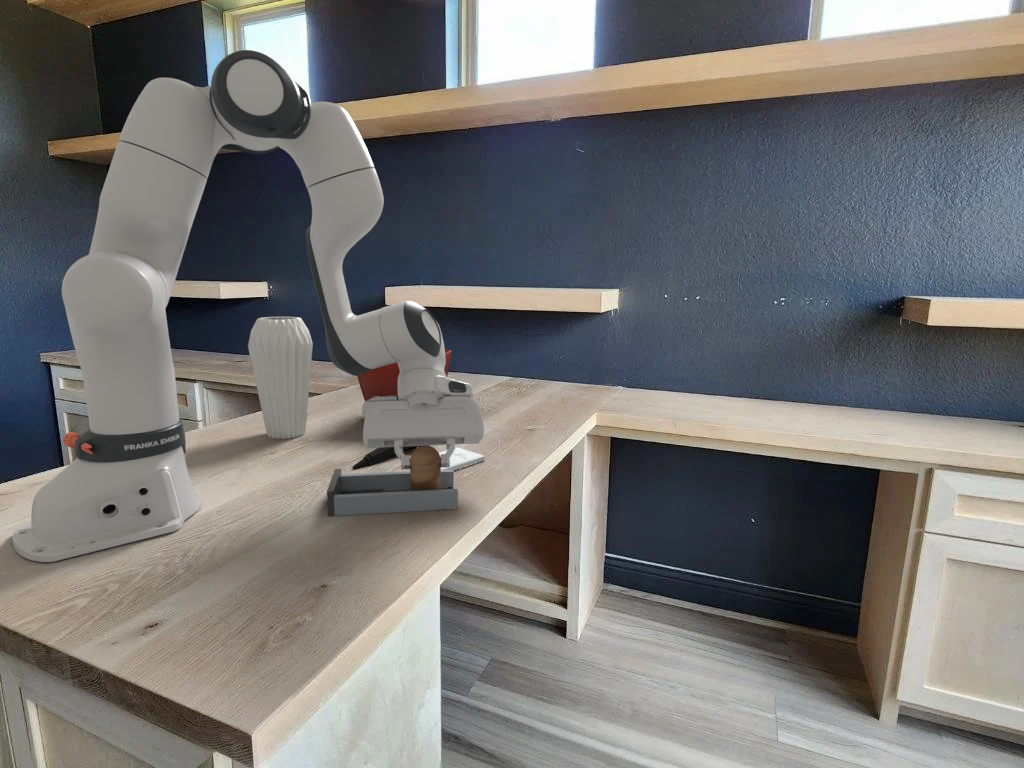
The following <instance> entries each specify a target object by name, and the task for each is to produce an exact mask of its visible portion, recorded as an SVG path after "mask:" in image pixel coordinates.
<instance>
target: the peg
mask: <svg viewBox="0 0 1024 768" xmlns="http://www.w3.org/2000/svg"><path fill="white" fill-rule="evenodd" d="M439 453H440V452H439V451H438V450H437V449H436V448H435V447H433V445H429V446H428V445H423V446H420V447H418V448H415V449H414V450H413V452H411V455H410V469H409V470H410V483H411V490H410V491H424V490H442V488H441V458H440V455H439Z"/></svg>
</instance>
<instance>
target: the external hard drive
mask: <svg viewBox="0 0 1024 768" xmlns="http://www.w3.org/2000/svg"><path fill="white" fill-rule="evenodd" d="M446 452H447V450H444V451H441V452H438V453H439V455H441V454H446ZM485 457H486V456H485V455H483V454H480V453H477V452H474V451H471V450H467V449H465V448H461V447H455V450H454V451H453V453H452V455H451V457H450V467H441V470H456V469H459V468H462V467H464V466H467V465H470V464H473V463H475V462H479V461H481V460H484V459H485ZM484 461H485V460H484ZM479 463H480V462H479ZM473 465H474V464H473ZM462 469H463V468H462ZM459 470H460V469H459ZM456 471H457V470H456Z"/></svg>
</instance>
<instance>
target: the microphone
mask: <svg viewBox="0 0 1024 768" xmlns="http://www.w3.org/2000/svg"><path fill="white" fill-rule="evenodd" d="M417 447H420V446H405V447H403V452H404V451H405V450H408V449H410V448H415V449H416V448H417ZM395 455H396V453H395V450H394V447H380V448H374V449H373V450H372V451H370V452H368V453H367V454H366V455H365V456H363V458H362V459H360V460H359V461H357V463H355V464H354V465H352V469H353V470H355V469H358V468H362V467H364V466H369V465H374V464H376V463H379V462H381V461H383V460H386V459H388V458H390V457H392V456H395ZM385 458H386V459H385ZM378 461H379V462H378Z"/></svg>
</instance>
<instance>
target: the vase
mask: <svg viewBox="0 0 1024 768" xmlns="http://www.w3.org/2000/svg"><path fill="white" fill-rule="evenodd" d="M313 344H314V343H313V340H312V336H311V333H310V330H309V328H308V327H307V326H306V324H305V322H304V320H303V319H302V317H298V316H297V317H296V316H265V317H259V318H258V317H257V319H256V321H255V322H254V324H253V326H252V328H251V330H250V334H249V339H248V344H247V349H248V353H249V358H250V362H251V367H252V372H253V377H254V381H255V385H256V389H257V393H258V394H257V395H258V400H259V403H260V409H261V414H262V418H263V422H264V426H265V431H266V435H267V437H268V438H271V439H276V440H279V439H282V440H285V439H289V440H290V439H291V438H293V439H295V438H296V437H297V438H298V437H300V436H304V434H306V431H307V430H306V429H307V420H308V419H307V417H308V405H309V394H310V384H311V383H310V382H311V381H310V380H311V373H312V372H311V371H312V370H311V369H312V357H313V347H314V346H313Z"/></svg>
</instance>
